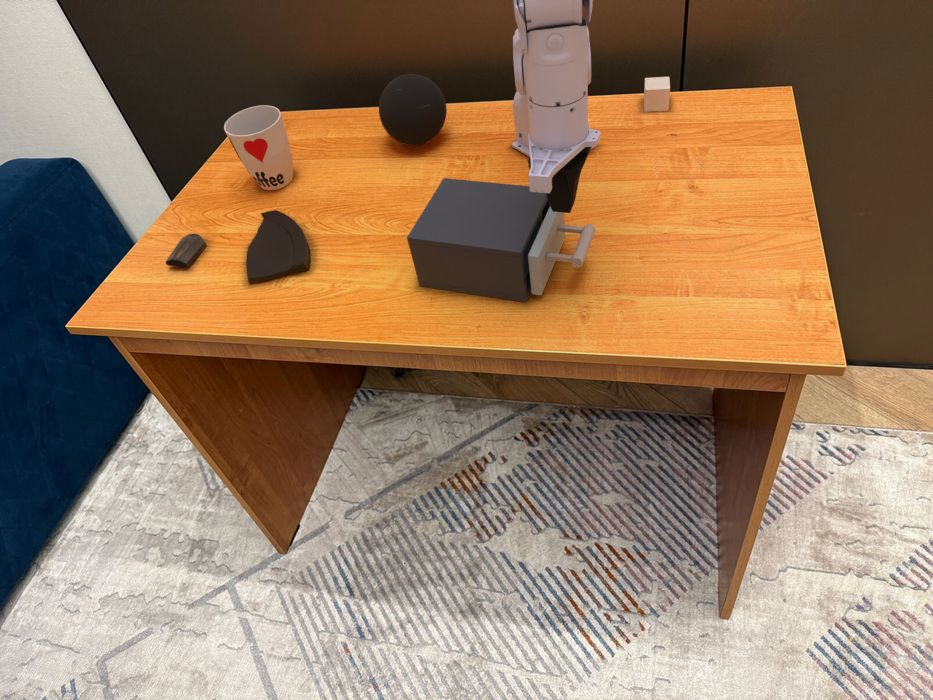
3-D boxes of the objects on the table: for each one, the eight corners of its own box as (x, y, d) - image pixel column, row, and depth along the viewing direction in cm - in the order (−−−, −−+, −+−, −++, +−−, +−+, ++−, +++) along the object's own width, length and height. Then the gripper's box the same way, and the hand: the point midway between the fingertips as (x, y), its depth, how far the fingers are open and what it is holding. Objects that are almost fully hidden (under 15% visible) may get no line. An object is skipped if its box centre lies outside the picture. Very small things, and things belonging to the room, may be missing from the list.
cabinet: (553, 238, 87) (550, 187, 81) (526, 302, 80) (520, 252, 74) (453, 226, 91) (443, 177, 86) (419, 286, 84) (406, 237, 79)
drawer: (600, 241, 84) (600, 202, 79) (578, 301, 78) (577, 262, 73) (470, 226, 89) (463, 188, 85) (440, 280, 83) (432, 243, 79)
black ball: (402, 120, 111) (388, 60, 104) (460, 124, 108) (450, 62, 101) (376, 156, 105) (360, 94, 98) (437, 161, 102) (424, 97, 95)
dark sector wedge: (310, 210, 98) (306, 201, 97) (310, 272, 89) (306, 263, 88) (252, 223, 98) (248, 213, 97) (247, 286, 89) (242, 276, 88)
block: (168, 270, 94) (162, 260, 92) (186, 241, 98) (181, 231, 96) (192, 270, 93) (186, 259, 92) (210, 241, 97) (204, 230, 95)
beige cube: (643, 111, 103) (645, 89, 100) (643, 99, 105) (644, 77, 103) (668, 110, 102) (670, 88, 100) (667, 98, 104) (669, 76, 102)
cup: (240, 193, 104) (212, 133, 96) (269, 162, 109) (245, 103, 101) (284, 199, 101) (260, 138, 94) (312, 167, 106) (291, 107, 98)
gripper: (579, 136, 60) (582, 256, 70) (616, 55, 68) (614, 172, 78) (502, 131, 62) (515, 248, 72) (546, 53, 71) (553, 167, 81)
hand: (562, 208), depth 75 cm, fingers closed
